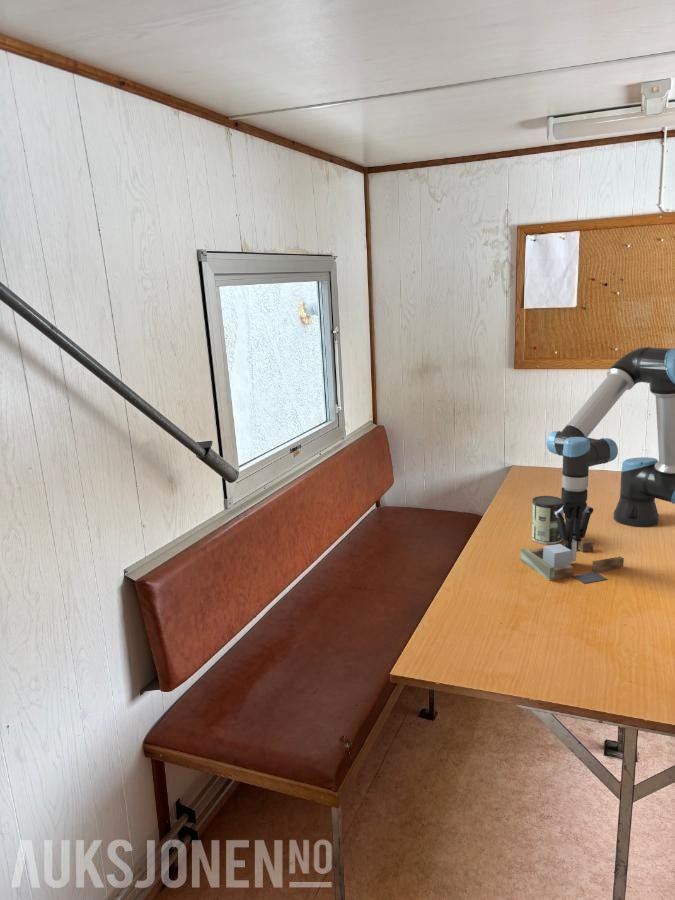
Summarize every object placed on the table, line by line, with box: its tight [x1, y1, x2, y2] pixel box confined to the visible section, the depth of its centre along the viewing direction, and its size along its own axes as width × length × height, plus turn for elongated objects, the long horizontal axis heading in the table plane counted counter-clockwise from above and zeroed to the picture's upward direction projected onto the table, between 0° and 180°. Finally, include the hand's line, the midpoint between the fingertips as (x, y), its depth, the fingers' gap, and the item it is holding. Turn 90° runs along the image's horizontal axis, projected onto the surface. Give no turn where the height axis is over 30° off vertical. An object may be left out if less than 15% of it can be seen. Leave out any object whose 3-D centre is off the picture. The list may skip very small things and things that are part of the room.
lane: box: [520, 540, 625, 581], centre depth 210 cm, size 26×16×4 cm, turn 106°
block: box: [542, 543, 572, 568], centre depth 208 cm, size 6×6×6 cm
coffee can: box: [531, 495, 563, 545], centre depth 229 cm, size 10×10×14 cm
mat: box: [572, 571, 608, 584], centre depth 200 cm, size 8×6×1 cm
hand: (571, 559), depth 210 cm, fingers closed
